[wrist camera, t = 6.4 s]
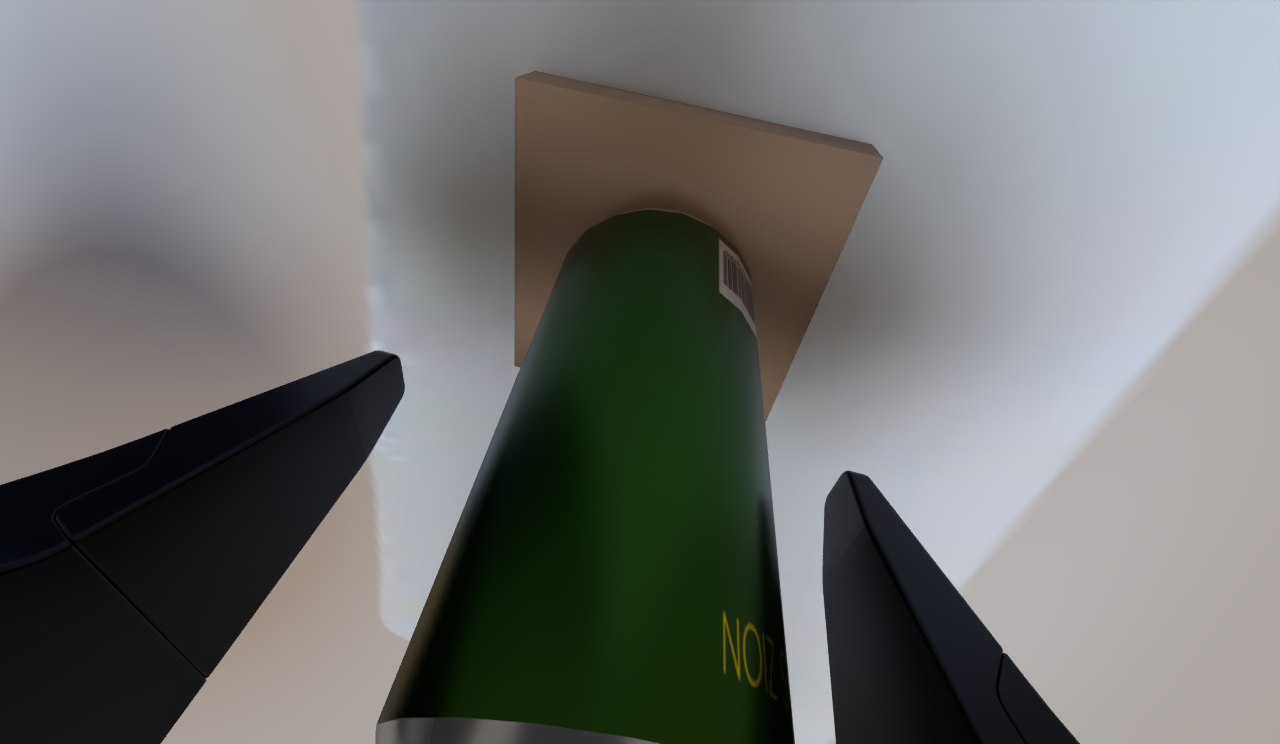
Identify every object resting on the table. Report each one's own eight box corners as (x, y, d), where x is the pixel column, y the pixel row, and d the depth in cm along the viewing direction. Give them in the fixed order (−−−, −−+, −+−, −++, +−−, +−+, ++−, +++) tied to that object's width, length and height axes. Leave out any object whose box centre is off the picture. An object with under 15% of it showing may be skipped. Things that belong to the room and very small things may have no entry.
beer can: (673, 150, 12) (553, 895, 3) (789, 302, 14) (900, 931, 6) (526, 268, 14) (248, 831, 6) (645, 377, 17) (575, 875, 8)
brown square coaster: (762, 390, 19) (763, 426, 17) (534, 335, 19) (514, 365, 18) (867, 139, 13) (882, 157, 12) (542, 68, 14) (515, 77, 12)
